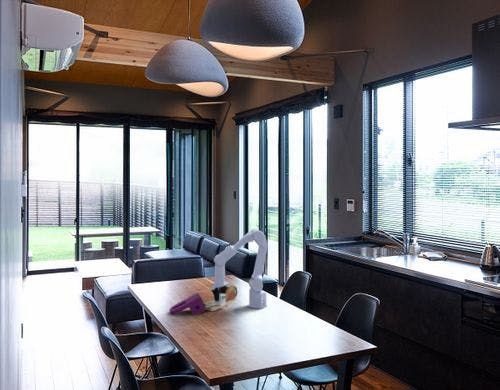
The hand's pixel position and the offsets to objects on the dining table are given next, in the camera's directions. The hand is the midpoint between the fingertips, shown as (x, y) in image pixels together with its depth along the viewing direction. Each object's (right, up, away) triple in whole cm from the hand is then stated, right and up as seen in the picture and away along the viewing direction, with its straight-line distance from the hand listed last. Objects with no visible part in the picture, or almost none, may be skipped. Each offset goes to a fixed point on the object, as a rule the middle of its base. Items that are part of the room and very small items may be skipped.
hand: (219, 300), depth 261 cm
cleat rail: (-2, -5, +1) cm, 5 cm away
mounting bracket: (-17, -5, -9) cm, 20 cm away
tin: (+4, -4, +18) cm, 19 cm away
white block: (0, -2, 0) cm, 2 cm away
